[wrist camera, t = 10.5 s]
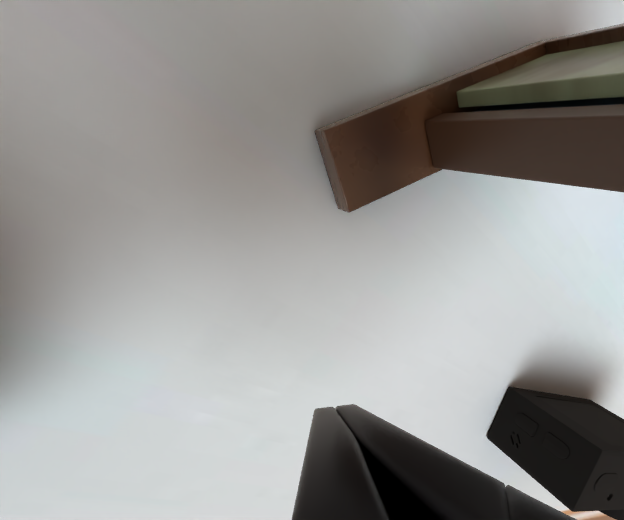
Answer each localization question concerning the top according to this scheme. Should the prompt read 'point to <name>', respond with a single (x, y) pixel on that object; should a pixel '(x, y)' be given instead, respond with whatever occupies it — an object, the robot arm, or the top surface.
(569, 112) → the sliding door
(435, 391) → the top surface
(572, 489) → the digital camera
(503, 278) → the top surface
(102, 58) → the top surface
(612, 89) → the brown wooden panel stand
